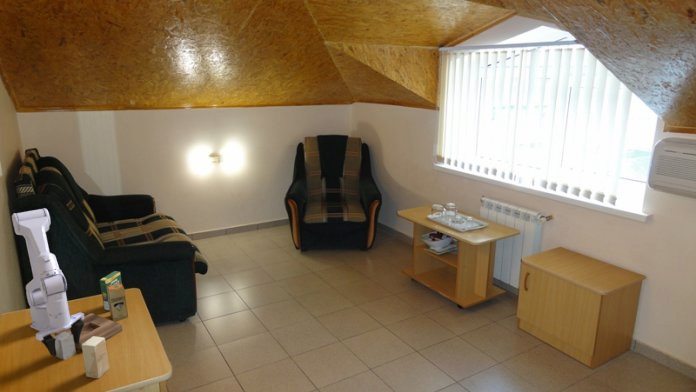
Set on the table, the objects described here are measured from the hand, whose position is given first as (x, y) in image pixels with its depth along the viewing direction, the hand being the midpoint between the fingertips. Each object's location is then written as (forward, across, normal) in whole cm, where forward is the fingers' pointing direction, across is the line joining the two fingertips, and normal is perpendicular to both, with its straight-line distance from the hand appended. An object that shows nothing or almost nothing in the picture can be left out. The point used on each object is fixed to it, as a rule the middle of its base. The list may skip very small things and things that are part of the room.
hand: (65, 348), depth 154 cm
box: (+3, -1, -17) cm, 17 cm away
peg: (+2, 0, 0) cm, 2 cm away
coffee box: (+2, +28, +13) cm, 31 cm away
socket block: (+2, +11, +4) cm, 12 cm away
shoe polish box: (+2, +24, +5) cm, 25 cm away
